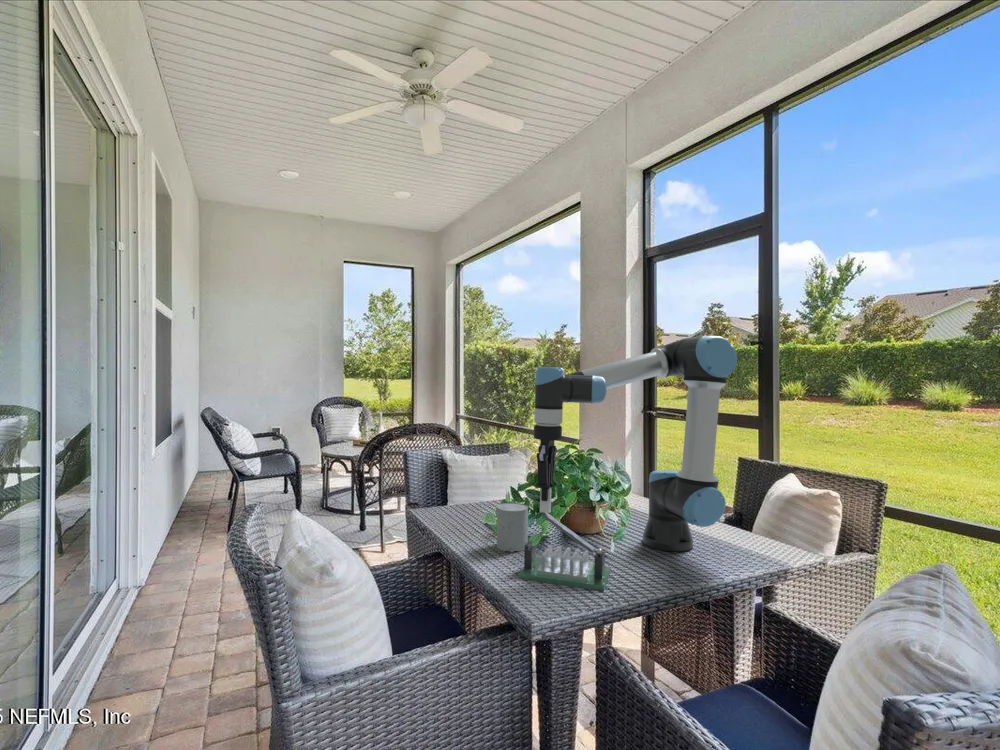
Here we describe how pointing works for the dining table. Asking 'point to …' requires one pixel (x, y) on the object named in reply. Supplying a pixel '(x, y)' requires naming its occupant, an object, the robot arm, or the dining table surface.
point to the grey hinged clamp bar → (571, 534)
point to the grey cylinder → (512, 526)
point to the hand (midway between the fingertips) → (545, 511)
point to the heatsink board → (565, 568)
